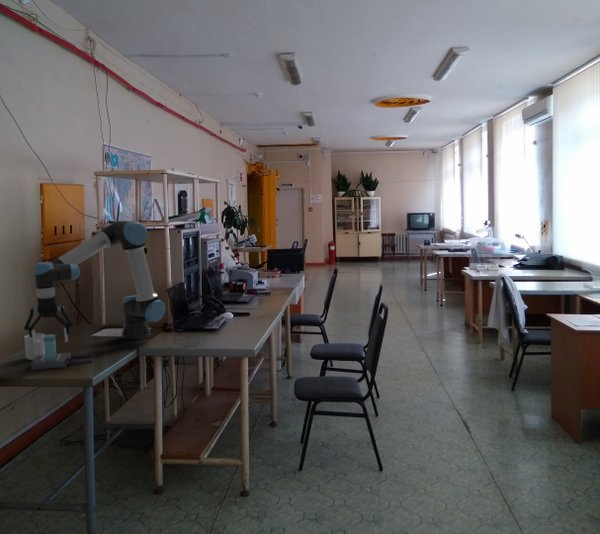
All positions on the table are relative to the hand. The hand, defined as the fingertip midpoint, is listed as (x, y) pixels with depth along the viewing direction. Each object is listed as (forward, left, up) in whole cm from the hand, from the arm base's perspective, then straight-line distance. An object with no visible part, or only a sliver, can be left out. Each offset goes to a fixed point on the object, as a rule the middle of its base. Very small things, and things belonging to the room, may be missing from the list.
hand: (50, 342), depth 249 cm
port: (0, 0, -10) cm, 11 cm away
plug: (0, 0, -10) cm, 11 cm away
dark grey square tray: (-13, -2, -10) cm, 17 cm away
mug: (+9, -14, -11) cm, 20 cm away
